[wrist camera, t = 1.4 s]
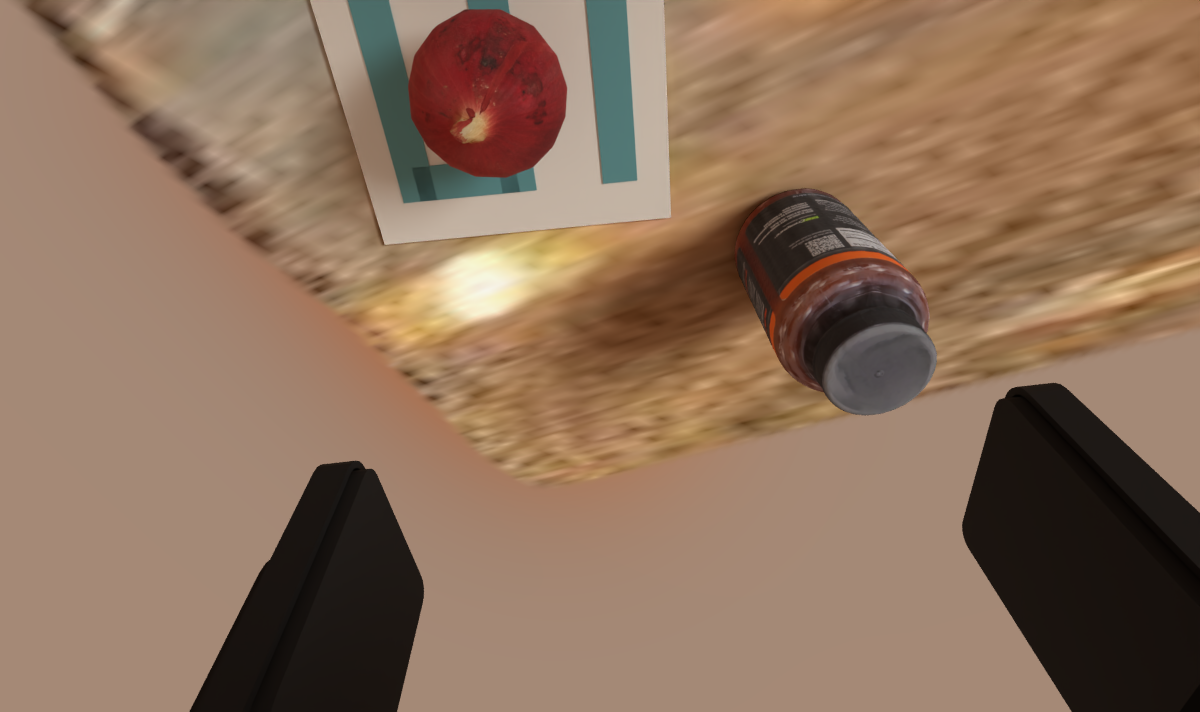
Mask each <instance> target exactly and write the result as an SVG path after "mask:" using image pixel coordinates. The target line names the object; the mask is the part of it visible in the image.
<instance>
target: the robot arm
mask: <svg viewBox="0 0 1200 712" xmlns="http://www.w3.org/2000/svg"><path fill="white" fill-rule="evenodd" d="M962 528H963V529H962V531H963V536H964V539H965V542H966V544H967V546H968V548H969V550H970V551H971V553H972V554H973V556H974V558H975V559H976V561H977V562H978V564H979V566H980V567H981V569H982V570H983V572H984V573H985V575H986V576H987V578H988V580H989V581H990V583H991V585H992V586H993V588H994V589H995V591H996V592H997V594H998V595H999V597H1000V599H1001V600H1002V602H1003V603H1004V605H1005V607H1006V608H1007V610H1008V611H1009V613H1010V615H1011V616H1012V618H1013V619H1014V621H1015V623H1016V624H1017V626H1018V627H1019V629H1020V630H1021V632H1022V634H1023V635H1024V637H1025V638H1026V640H1027V642H1028V643H1029V645H1030V646H1031V648H1032V649H1033V651H1034V653H1035V654H1036V656H1037V657H1038V659H1039V661H1040V662H1041V664H1042V665H1043V667H1044V668H1045V670H1046V672H1047V673H1048V675H1049V676H1050V678H1051V680H1052V681H1053V682H1054V684H1055V685H1056V687H1057V689H1058V691H1059V692H1060V694H1061V695H1062V697H1063V699H1064V700H1065V702H1066V703H1067V705H1068V706H1069V708H1070V710H1071V711H1072V712H1200V513H1199V512H1198V511H1197V510H1196V509H1195V508H1194V507H1193V506H1192V505H1191V504H1190V503H1189V502H1188V501H1186V500H1185V499H1184V498H1183V497H1182V496H1181V495H1180V494H1179V493H1178V492H1177V491H1176V490H1174V489H1173V487H1171V486H1170V485H1169V484H1168V483H1167V482H1166V481H1165V480H1164V479H1163V478H1162V477H1160V475H1159V474H1158V473H1157V472H1155V471H1154V470H1153V469H1152V468H1151V467H1150V466H1149V465H1148V464H1147V463H1146V462H1145V461H1144V460H1143V459H1141V458H1140V457H1139V456H1138V455H1137V454H1136V453H1135V452H1134V451H1133V450H1132V449H1131V448H1130V447H1129V446H1127V445H1126V444H1125V443H1124V442H1123V441H1122V440H1121V439H1120V438H1119V437H1118V436H1117V435H1116V434H1115V433H1114V432H1113V431H1112V430H1110V429H1109V428H1108V427H1107V426H1106V425H1105V424H1104V423H1103V422H1102V421H1101V420H1100V419H1099V418H1098V417H1097V416H1096V415H1094V414H1093V413H1092V412H1091V411H1090V410H1089V409H1088V408H1087V407H1086V406H1085V405H1084V404H1083V403H1082V402H1081V401H1079V400H1078V399H1077V398H1076V397H1075V396H1074V395H1073V394H1072V393H1071V392H1070V391H1069V390H1067V388H1065V387H1064V386H1062V385H1061V384H1057V383H1048V384H1039V385H1031V386H1022V387H1015V388H1012V389H1010V390H1009V391H1008V392H1007V394H1006V397H1005V398H1003V399H1000V400H999V401H998V402H997V403H996V405H995V407H994V411H993V415H992V418H991V422H990V425H989V429H988V433H987V436H986V440H985V443H984V447H983V450H982V454H981V458H980V461H979V465H978V468H977V472H976V476H975V479H974V483H973V486H972V490H971V494H970V497H969V501H968V504H967V508H966V512H965V515H964V519H963V524H962ZM423 598H424V586H423V580H422V577H421V575H420V572H419V570H418V568H417V565H416V563H415V561H414V559H413V556H412V554H411V552H410V550H409V547H408V545H407V543H406V540H405V538H404V536H403V533H402V531H401V529H400V526H399V524H398V522H397V519H396V517H395V515H394V513H393V510H392V508H391V506H390V503H389V501H388V499H387V497H386V494H385V492H384V490H383V487H382V485H381V483H380V481H379V478H378V476H377V474H376V472H375V471H374V470H373V469H365V467H364V466H363V464H362V463H360V462H359V461H349V462H340V463H332V464H322V465H320V466H318V467H317V468H316V470H315V471H314V473H313V475H312V476H311V478H310V481H309V483H308V485H307V487H306V489H305V491H304V493H303V495H302V497H301V499H300V501H299V503H298V505H297V507H296V509H295V511H294V513H293V515H292V517H291V519H290V521H289V523H288V525H287V527H286V529H285V531H284V533H283V535H282V537H281V539H280V541H279V543H278V545H277V547H276V549H275V551H274V553H273V555H272V557H271V559H270V560H269V561H268V562H267V563H266V564H265V565H264V567H263V568H262V570H261V571H260V573H259V575H258V577H257V579H256V581H255V583H254V585H253V587H252V588H251V591H250V592H249V595H248V597H247V598H246V600H245V603H244V605H243V606H242V608H241V610H240V612H239V614H238V616H237V618H236V620H235V622H234V624H233V626H232V628H231V630H230V632H229V634H228V636H227V638H226V640H225V642H224V644H223V646H222V648H221V650H220V652H219V654H218V656H217V658H216V660H215V662H214V664H213V666H212V668H211V670H210V672H209V674H208V676H207V678H206V680H205V682H204V684H203V686H202V688H201V690H200V692H199V694H198V696H197V698H196V700H195V702H194V704H193V706H192V708H191V710H190V712H397V709H398V705H399V701H400V697H401V692H402V688H403V684H404V680H405V676H406V671H407V667H408V663H409V659H410V654H411V650H412V646H413V642H414V637H415V633H416V629H417V625H418V621H419V616H420V612H421V608H422V603H423Z"/></svg>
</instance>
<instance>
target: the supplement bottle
mask: <svg viewBox="0 0 1200 712" xmlns="http://www.w3.org/2000/svg"><path fill="white" fill-rule="evenodd" d="M735 261H736V267H737V270H738V272H739V276H740V278H741V280H742V283H743V285H744V287H745V290H746V292H747V294H748V296H749V298H750V300H751V302H752V304H753V306H754V308H755V310H756V313H757V315H758V317H759V319H760V321H761V323H762V325H763V328H764V330H765V332H766V334H767V336H768V338H769V341H770V343H771V345H772V346H773V349H774V351H775V353H776V355H777V357H778V359H779V361H780V362H781V364H782V365H783V367H784V369H785V370H786V371H787V372H788V373H789V374H790V375H791V376H792V377H793V378H794V379H796V380H797V381H798V382H800V383H802V384H803V385H805V386H807V387H809V388H811V389H814V390H817V391H821V392H824V393H825V395H826V396H827V398H828V399H829V400H830V401H831V402H832V403H833V404H834V405H835V406H836V407H838V408H839V409H841V410H843V411H845V412H849V413H852V414H856V415H875V414H881V413H885V412H888V411H891V410H894V409H896V408H899V407H901V406H903V405H905V404H906V403H908V402H909V401H911V400H912V399H913V398H915V397H916V396H917V395H918V394H919V393H920V392H921V391H922V390H923V389H924V388H925V387H926V385H927V384H928V382H929V381H930V379H931V377H932V375H933V373H934V371H935V367H936V362H937V353H936V349H935V346H934V344H933V342H932V340H931V339H930V337H929V336H928V335H927V330H928V323H929V307H928V303H927V298H926V296H925V293H924V291H923V289H922V288H921V286H920V284H919V283H918V281H917V280H916V279H915V278H914V277H913V275H912V274H911V273H910V272H909V271H908V270H907V269H906V268H905V267H904V266H903V265H902V264H901V263H900V262H899V261H898V260H897V259H896V258H895V257H894V256H893V254H892V253H891V252H890V251H889V250H888V249H887V248H886V247H885V246H884V245H883V244H882V243H881V242H880V241H879V240H878V239H877V238H876V237H875V236H874V235H873V234H872V233H871V232H870V231H869V230H868V229H867V227H866V226H865V225H864V224H863V223H862V222H861V221H860V220H859V219H858V218H857V217H856V216H855V215H854V214H853V213H852V212H851V211H850V210H849V208H848V207H846V206H845V205H844V204H843V203H841V202H840V201H839V200H838V199H837V198H835V197H834V196H832V195H830V194H828V193H825V192H822V191H819V190H815V189H806V188H805V189H796V190H790V191H785V192H783V193H780V194H777V195H775V196H773V197H771V198H770V199H768V200H766V201H765V202H764V203H762V204H761V205H759V206H758V207H757V208H756V209H755V210H754V211H753V212H752V213H751V214H750V215H749V217H748V218H747V219H746V221H745V222H744V224H743V226H742V228H741V230H740V232H739V235H738V237H737V241H736V245H735Z"/></svg>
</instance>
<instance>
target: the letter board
mask: <svg viewBox="0 0 1200 712" xmlns="http://www.w3.org/2000/svg"><path fill="white" fill-rule="evenodd" d="M310 2H311V5H312V8H313V12H314V15H315V18H316V22H317V25H318V28H319V31H320V35H321V38H322V41H323V44H324V48H325V51H326V54H327V57H328V61H329V64H330V67H331V70H332V74H333V77H334V80H335V84H336V87H337V90H338V93H339V97H340V100H341V103H342V106H343V110H344V113H345V116H346V119H347V123H348V126H349V129H350V132H351V136H352V139H353V142H354V146H355V149H356V152H357V155H358V159H359V162H360V165H361V168H362V172H363V175H364V178H365V181H366V185H367V188H368V191H369V194H370V198H371V201H372V204H373V208H374V211H375V214H376V217H377V221H378V224H379V227H380V230H381V234H382V237H383V240H384V243H385V245H388V244H399V243H409V242H420V241H430V240H441V239H451V238H462V237H472V236H483V235H493V234H504V233H514V232H525V231H535V230H546V229H556V228H567V227H577V226H588V225H598V224H609V223H619V222H630V221H640V220H651V219H661V218H671V205H670V174H669V144H668V113H667V82H666V52H665V21H664V0H310ZM465 9H500V10H503V11H505V12H507V13H509V14H511V15H513V16H515V17H517V18H519V19H521V20H523V21H525V22H527V23H529V24H531V25H533V26H534V27H535V28H536V29H537V31H538V32H539V33H540V34H541V36H542V37H543V38H544V40H545V41H546V42H547V43H548V45H549V46H550V47H551V49H552V50H553V51H554V52H555V54H556V55H557V57H558V60H559V63H560V67H561V70H562V73H563V76H564V79H565V82H566V85H567V101H566V116H565V119H564V122H563V124H562V127H561V129H560V132H559V134H558V137H557V139H556V141H555V144H554V146H553V147H552V148H551V149H550V150H549V151H548V153H547V154H546V155H545V156H544V157H543V158H542V159H541V160H540V161H539V162H538V163H537V164H536V165H535V166H534V167H533V168H530V169H528V170H525V171H522V172H520V173H517V174H515V175H512V176H509V177H507V178H500V177H475V176H473V175H470V174H468V173H466V172H463V171H461V170H458V169H456V168H453V167H451V166H449V165H448V164H447V163H446V162H445V161H444V160H442V159H441V158H440V157H439V156H438V155H437V154H435V153H434V152H433V151H432V150H431V149H430V148H428V147H427V145H426V143H425V142H424V140H423V138H422V136H421V135H420V133H419V131H418V130H417V128H416V126H415V124H414V123H413V121H412V119H411V111H410V101H409V91H408V84H409V79H410V74H411V69H412V64H413V59H414V55H415V53H416V52H417V51H418V49H419V48H420V46H421V45H422V44H423V42H424V41H425V39H426V38H427V37H428V35H429V34H430V32H431V31H432V30H433V29H434V28H435V27H436V26H437V25H439V24H440V23H442V22H444V21H446V20H447V19H449V18H451V17H452V16H454V15H456V14H458V13H459V12H461V11H463V10H465Z"/></svg>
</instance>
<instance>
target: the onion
mask: <svg viewBox="0 0 1200 712" xmlns="http://www.w3.org/2000/svg"><path fill="white" fill-rule="evenodd" d="M408 91H409V101H410V111H411V119H412V121H413V123H414V124H415V126H416V128H417V130H418V131H419V133H420V135H421V136H422V138H423V140H424V142H425V143H426V145H427V147H428V148H430V149H431V150H432V151H433V152H434V153H435V154H437V155H438V156H439V157H440V158H441V159H442V160H444V161H445V162H446V163H447V164H448V165H449V166H451V167H453V168H456V169H458V170H461V171H463V172H466V173H468V174H470V175H473V176H475V177H500V178H507V177H509V176H512V175H515V174H517V173H520V172H522V171H525V170H528V169H530V168H533V167H534V166H535V165H536V164H537V163H538V162H539V161H540V160H541V159H542V158H543V157H544V156H545V155H546V154H547V153H548V151H549V150H550V149H551V148H552V147H553V146H554V144H555V141H556V139H557V137H558V134H559V132H560V129H561V127H562V124H563V122H564V119H565V116H566V101H567V85H566V82H565V79H564V76H563V73H562V70H561V67H560V63H559V60H558V57H557V55H556V54H555V52H554V51H553V50H552V49H551V47H550V46H549V45H548V43H547V42H546V41H545V40H544V38H543V37H542V36H541V34H540V33H539V32H538V31H537V29H536V28H535V27H534V26H533V25H531V24H529V23H527V22H525V21H523V20H521V19H519V18H517V17H515V16H513V15H511V14H509V13H507V12H505V11H503V10H500V9H465V10H463V11H461V12H459V13H458V14H456V15H454V16H452V17H451V18H449V19H447V20H446V21H444V22H442V23H440V24H439V25H437V26H436V27H435V28H434V29H433V30H432V31H431V32H430V34H429V35H428V37H427V38H426V39H425V41H424V42H423V44H422V45H421V46H420V48H419V49H418V51H417V52H416V53H415V55H414V59H413V64H412V69H411V74H410V79H409V84H408Z"/></svg>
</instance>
